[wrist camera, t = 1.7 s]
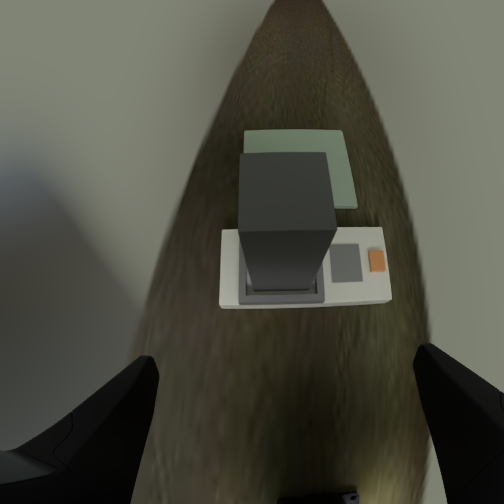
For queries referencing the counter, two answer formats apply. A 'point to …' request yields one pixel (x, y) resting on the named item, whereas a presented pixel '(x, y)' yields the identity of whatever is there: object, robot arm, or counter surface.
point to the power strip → (326, 280)
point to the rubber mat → (311, 142)
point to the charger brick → (285, 217)
